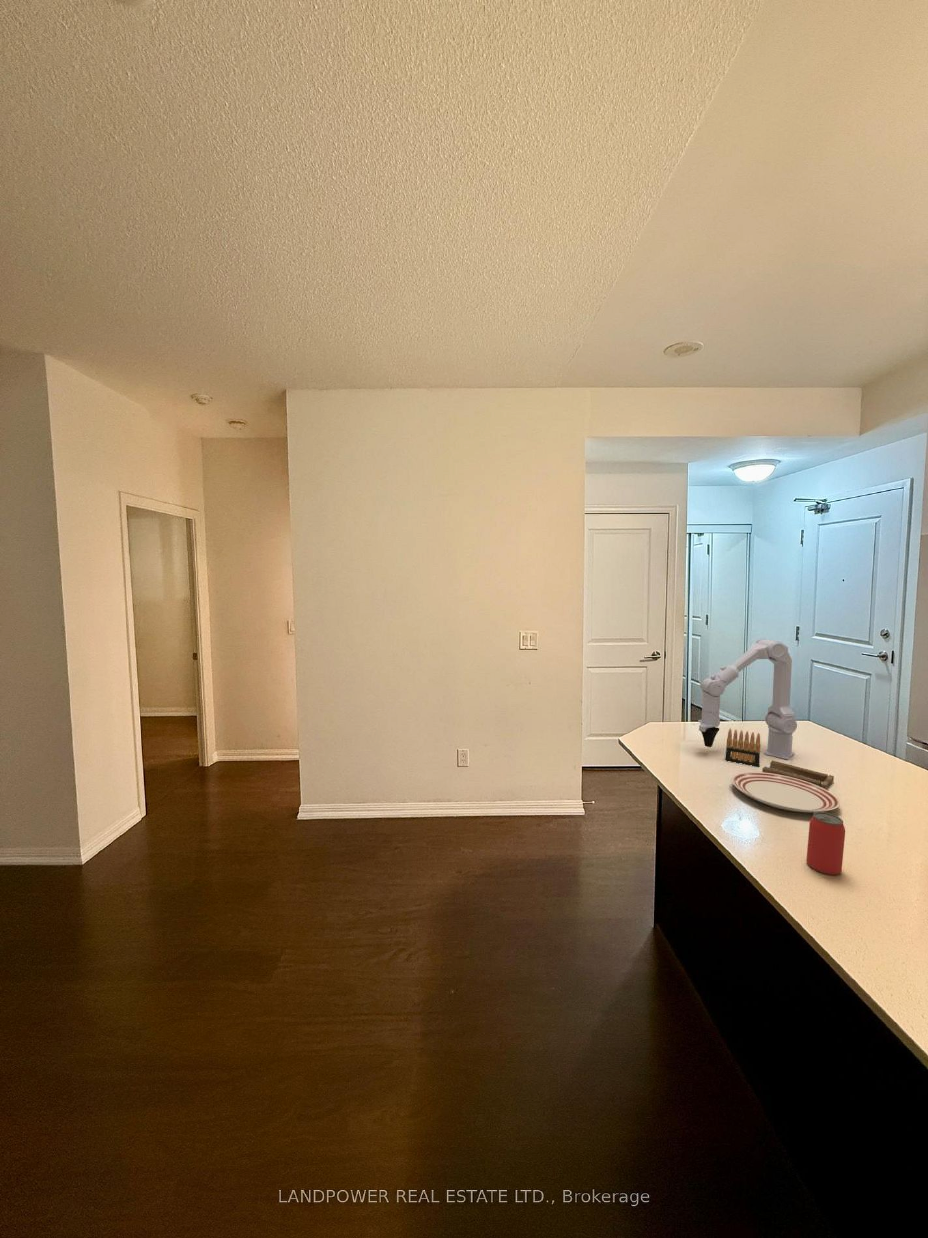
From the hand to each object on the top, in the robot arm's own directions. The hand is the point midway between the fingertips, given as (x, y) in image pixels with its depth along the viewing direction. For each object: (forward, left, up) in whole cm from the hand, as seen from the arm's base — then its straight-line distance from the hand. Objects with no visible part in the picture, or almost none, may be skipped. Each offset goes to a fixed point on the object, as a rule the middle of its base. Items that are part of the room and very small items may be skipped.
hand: (708, 746), depth 183 cm
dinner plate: (+21, +30, -3) cm, 37 cm away
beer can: (+55, +47, -3) cm, 72 cm away
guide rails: (0, +28, -3) cm, 28 cm away
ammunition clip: (0, +12, -3) cm, 12 cm away
